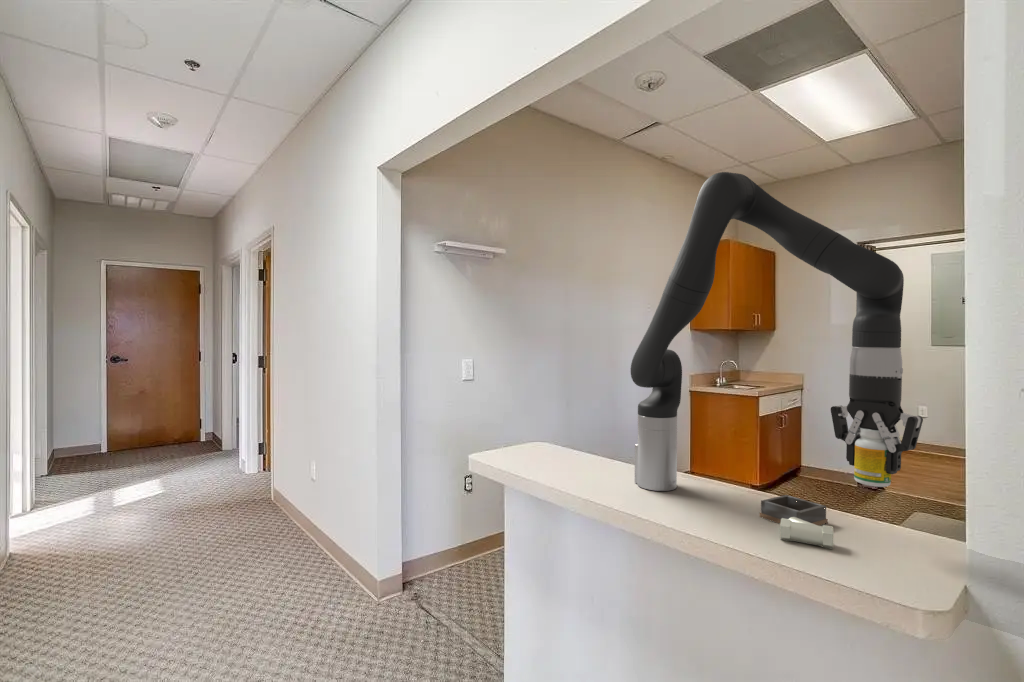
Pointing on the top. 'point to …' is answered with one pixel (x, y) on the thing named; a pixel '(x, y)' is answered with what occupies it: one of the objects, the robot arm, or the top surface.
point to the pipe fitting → (806, 532)
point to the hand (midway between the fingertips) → (872, 468)
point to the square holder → (792, 510)
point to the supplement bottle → (871, 459)
